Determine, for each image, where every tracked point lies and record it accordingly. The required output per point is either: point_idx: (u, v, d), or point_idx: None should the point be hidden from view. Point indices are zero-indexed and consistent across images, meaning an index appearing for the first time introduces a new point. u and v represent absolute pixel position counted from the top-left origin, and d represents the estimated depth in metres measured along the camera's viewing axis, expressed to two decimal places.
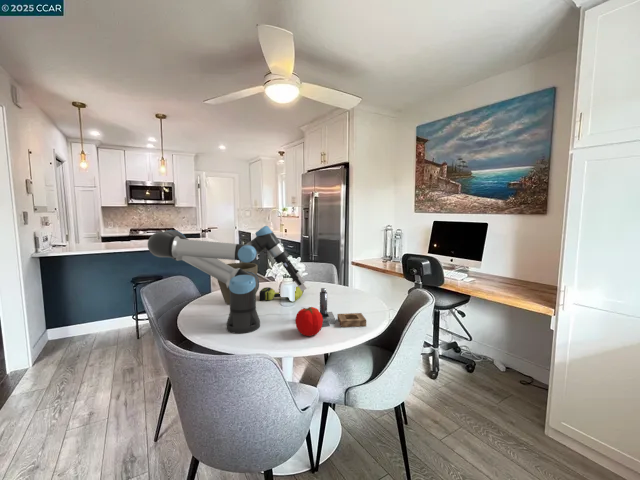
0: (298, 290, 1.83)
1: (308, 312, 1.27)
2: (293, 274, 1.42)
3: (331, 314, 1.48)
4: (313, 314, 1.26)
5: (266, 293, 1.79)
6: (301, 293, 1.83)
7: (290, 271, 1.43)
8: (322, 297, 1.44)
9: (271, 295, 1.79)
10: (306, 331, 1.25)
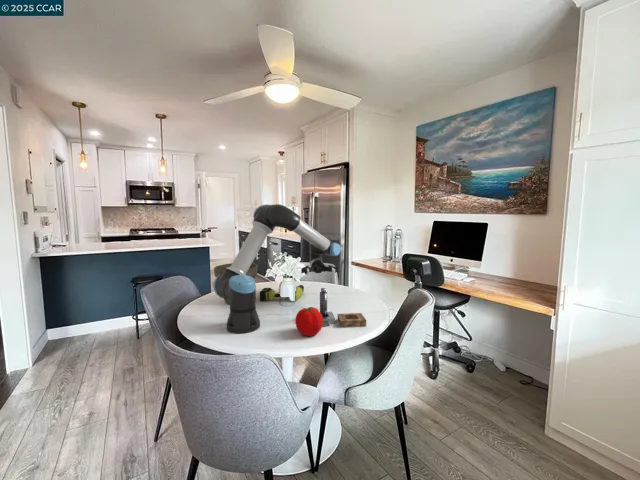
0: (298, 290, 1.83)
1: (308, 312, 1.27)
2: None
3: (331, 314, 1.48)
4: (313, 314, 1.26)
5: (266, 293, 1.78)
6: (301, 293, 1.84)
7: None
8: (322, 297, 1.44)
9: (271, 295, 1.79)
10: (306, 331, 1.25)
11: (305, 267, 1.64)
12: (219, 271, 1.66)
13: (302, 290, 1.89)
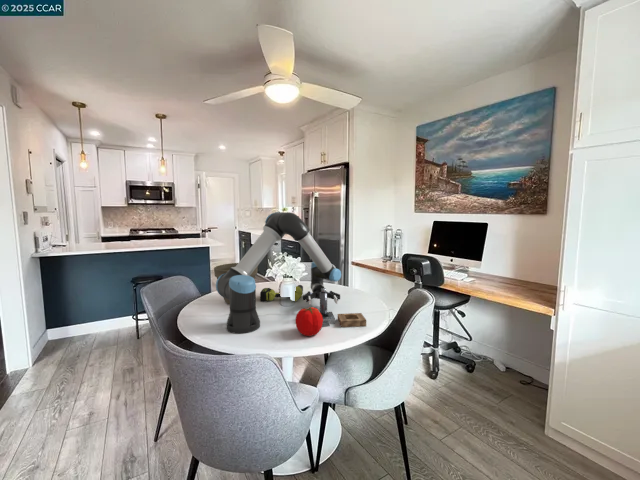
0: (299, 290, 1.83)
1: (308, 312, 1.27)
2: None
3: (331, 314, 1.48)
4: (313, 314, 1.26)
5: (267, 294, 1.78)
6: (302, 293, 1.84)
7: None
8: (322, 297, 1.44)
9: (272, 295, 1.78)
10: (306, 331, 1.25)
11: (306, 294, 1.61)
12: (219, 271, 1.66)
13: (302, 290, 1.90)
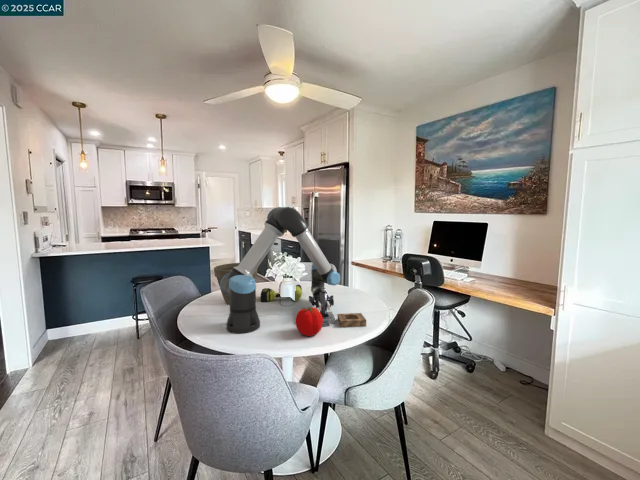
0: (299, 289, 1.84)
1: (308, 312, 1.27)
2: None
3: (331, 314, 1.48)
4: (313, 314, 1.26)
5: (268, 294, 1.77)
6: (301, 292, 1.85)
7: None
8: (322, 297, 1.44)
9: (273, 296, 1.78)
10: (306, 331, 1.25)
11: (313, 299, 1.51)
12: (219, 271, 1.66)
13: (301, 289, 1.91)
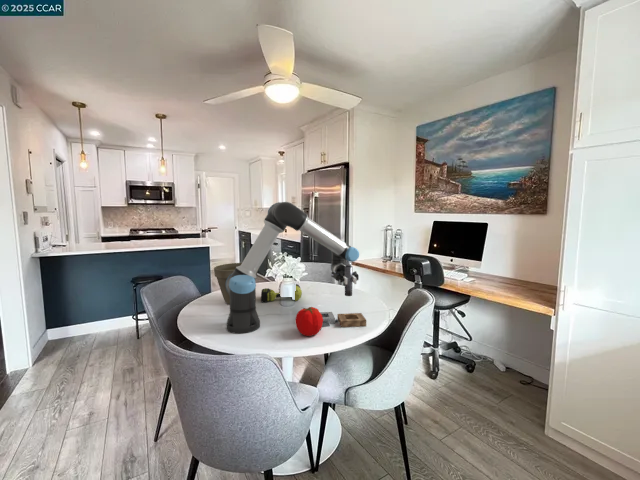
0: (298, 289, 1.85)
1: (308, 312, 1.27)
2: None
3: (331, 314, 1.48)
4: (313, 314, 1.26)
5: (268, 294, 1.77)
6: (301, 292, 1.86)
7: None
8: (347, 271, 1.40)
9: (273, 296, 1.78)
10: (306, 331, 1.25)
11: (337, 274, 1.47)
12: (219, 271, 1.66)
13: None
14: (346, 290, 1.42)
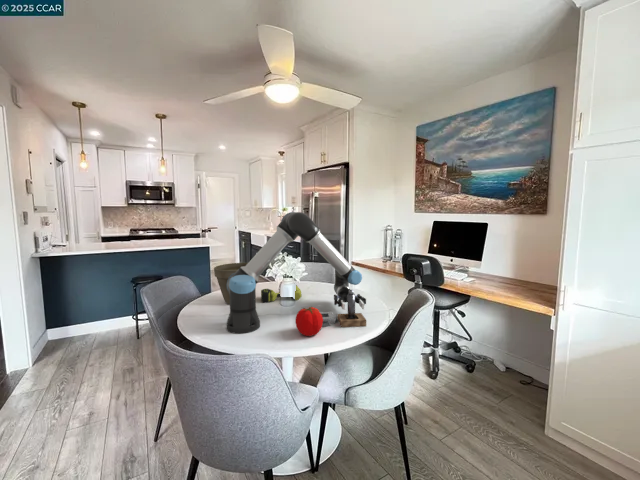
0: (298, 288, 1.87)
1: (308, 312, 1.27)
2: None
3: (331, 314, 1.48)
4: (313, 314, 1.26)
5: (269, 294, 1.76)
6: (300, 291, 1.88)
7: None
8: (350, 299, 1.41)
9: (274, 296, 1.78)
10: (306, 331, 1.25)
11: (336, 298, 1.48)
12: (219, 271, 1.66)
13: (298, 288, 1.93)
14: (349, 318, 1.42)
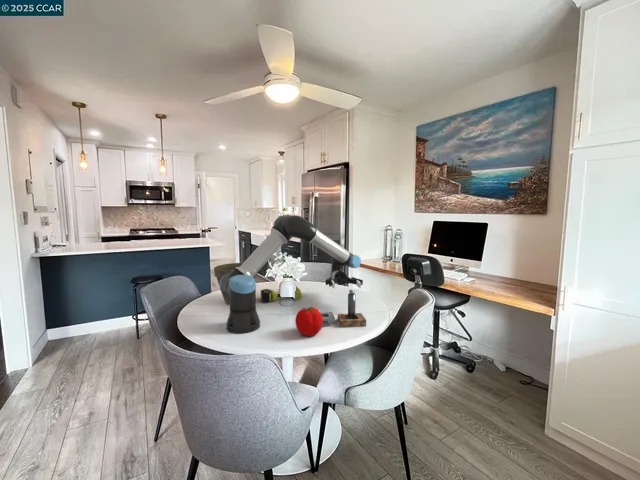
0: (297, 288, 1.88)
1: (308, 312, 1.27)
2: None
3: (331, 314, 1.48)
4: (313, 314, 1.26)
5: (270, 294, 1.76)
6: None
7: None
8: (351, 299, 1.41)
9: (275, 296, 1.77)
10: (306, 331, 1.25)
11: (329, 279, 1.61)
12: (219, 271, 1.66)
13: None
14: (349, 318, 1.42)
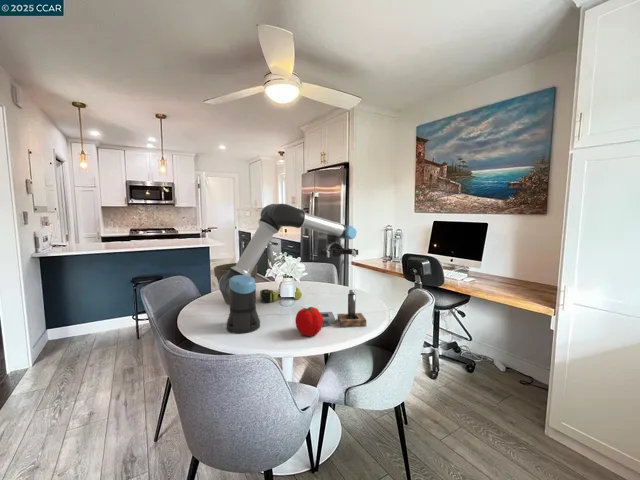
0: (297, 288, 1.89)
1: (308, 312, 1.27)
2: None
3: (331, 314, 1.48)
4: (313, 314, 1.26)
5: (271, 295, 1.76)
6: None
7: None
8: (351, 299, 1.41)
9: (276, 296, 1.77)
10: (306, 331, 1.25)
11: (324, 249, 1.59)
12: (219, 271, 1.66)
13: None
14: (349, 318, 1.42)
